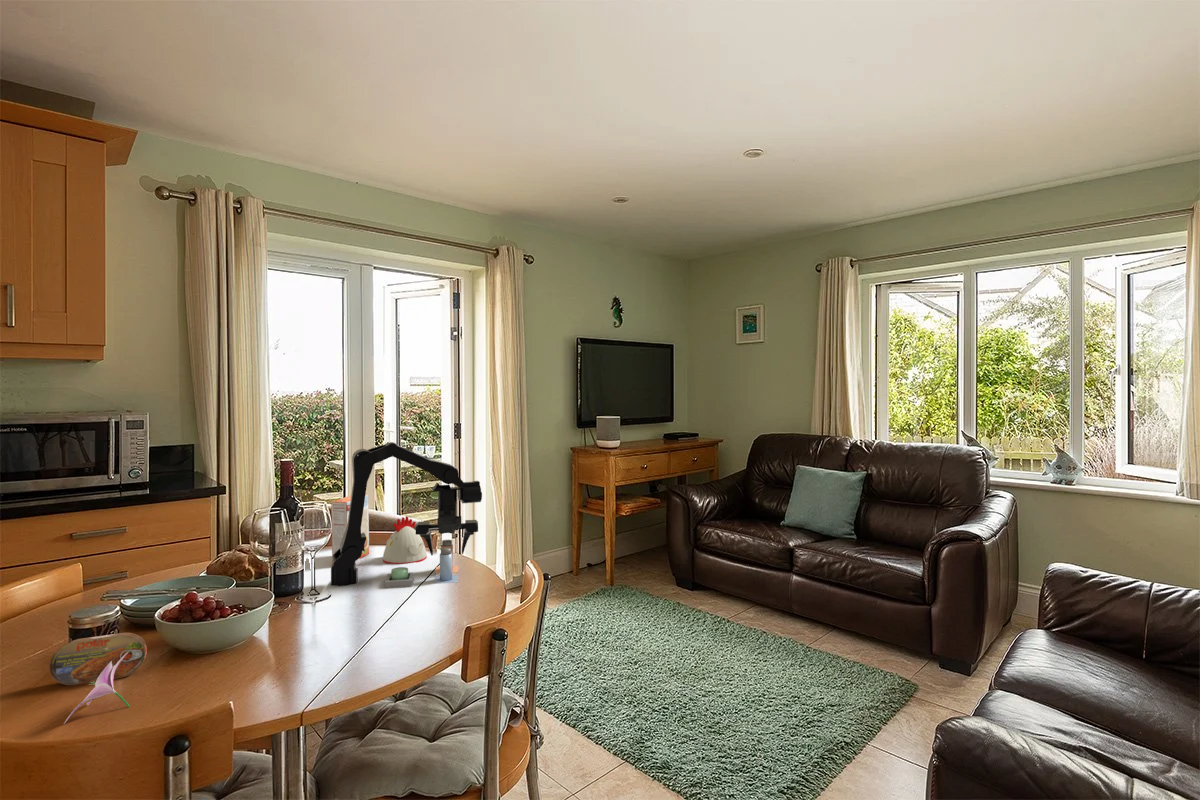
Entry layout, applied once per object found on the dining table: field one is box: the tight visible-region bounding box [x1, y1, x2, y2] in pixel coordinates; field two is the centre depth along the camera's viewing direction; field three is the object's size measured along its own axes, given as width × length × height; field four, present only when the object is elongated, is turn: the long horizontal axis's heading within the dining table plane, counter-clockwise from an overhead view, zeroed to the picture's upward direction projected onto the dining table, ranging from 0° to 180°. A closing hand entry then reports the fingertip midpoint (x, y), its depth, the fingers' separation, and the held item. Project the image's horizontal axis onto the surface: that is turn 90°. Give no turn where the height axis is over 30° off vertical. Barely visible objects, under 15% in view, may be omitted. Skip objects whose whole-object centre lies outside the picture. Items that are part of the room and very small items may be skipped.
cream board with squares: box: [384, 565, 459, 589], centre depth 184 cm, size 22×19×3 cm
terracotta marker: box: [440, 539, 454, 570], centre depth 191 cm, size 4×4×9 cm
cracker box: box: [330, 494, 370, 565], centre depth 205 cm, size 14×6×21 cm, turn 172°
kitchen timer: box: [382, 516, 428, 565], centre depth 203 cm, size 14×14×15 cm
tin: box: [49, 632, 148, 686], centre depth 121 cm, size 15×3×8 cm, turn 114°
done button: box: [390, 566, 409, 580], centre depth 177 cm, size 5×5×3 cm
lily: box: [63, 651, 131, 724], centre depth 109 cm, size 12×12×10 cm
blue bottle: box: [439, 548, 453, 581], centre depth 181 cm, size 4×4×9 cm
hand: (447, 554), depth 191 cm, fingers open, 9 cm apart
